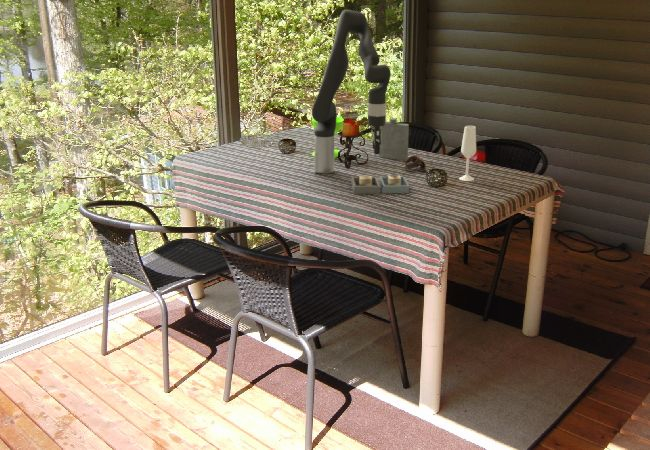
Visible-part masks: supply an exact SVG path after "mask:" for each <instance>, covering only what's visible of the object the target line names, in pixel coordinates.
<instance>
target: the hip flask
mask: <svg viewBox="0 0 650 450" xmlns="http://www.w3.org/2000/svg"><path fill="white" fill-rule="evenodd" d="M409 128H410V125H409V124H408V123H400V122H398V119H397V118H395V117H391V118H389V121H386V124H385V125H384V126H380V129H381V130H382V133H381V145H380V154H377V156H378V157H379V158H385V159H392V160H398V161H406V160H407V159H408V158H409V157H408V156H409V154H408V152H409V132H410V129H409ZM378 142H379V141H378Z"/></svg>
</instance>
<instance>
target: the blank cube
mask: <svg viewBox="0 0 650 450" xmlns="http://www.w3.org/2000/svg"><path fill="white" fill-rule="evenodd" d="M358 177H359V186H372V178H371V177H372V176H371V175H359V176H358Z"/></svg>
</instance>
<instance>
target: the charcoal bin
mask: <svg viewBox="0 0 650 450" xmlns="http://www.w3.org/2000/svg"><path fill="white" fill-rule="evenodd" d="M371 178H372V186H359V176H356V177H355V176H353V177H351V187H352V190H353V195H354V194H356V195H359V194H360V195H361V194H362V195H364V194H365V195H367V194H381V186H380V181H379V180H378V178H377V176H371Z"/></svg>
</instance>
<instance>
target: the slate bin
mask: <svg viewBox="0 0 650 450" xmlns="http://www.w3.org/2000/svg"><path fill="white" fill-rule="evenodd" d="M400 177H401V186H388V176H379V185H380V189H381V190H382V193H383V194H409V193H410V185H409V182H408V180H407V179H406V177H405V176H400Z"/></svg>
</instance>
